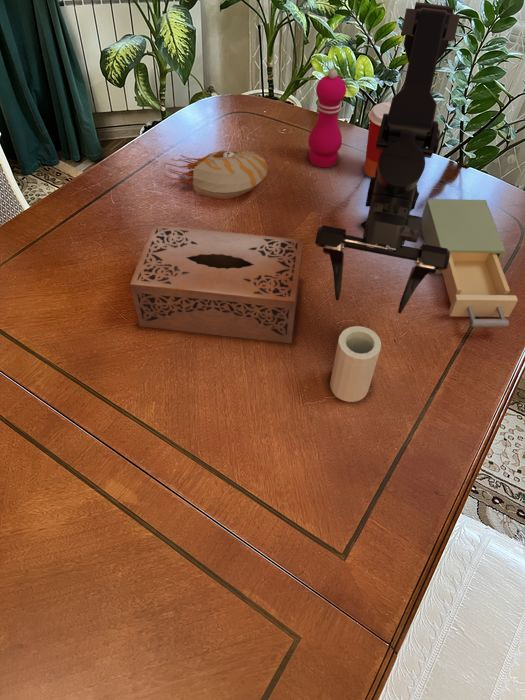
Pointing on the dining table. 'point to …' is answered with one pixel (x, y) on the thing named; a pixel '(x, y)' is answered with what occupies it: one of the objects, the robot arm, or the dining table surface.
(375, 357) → the jar
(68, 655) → the dining table surface
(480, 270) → the drawer
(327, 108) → the pepper mill
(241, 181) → the nautilus
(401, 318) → the dining table surface
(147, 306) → the tissue box cover
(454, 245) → the cabinet
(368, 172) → the paper cup
